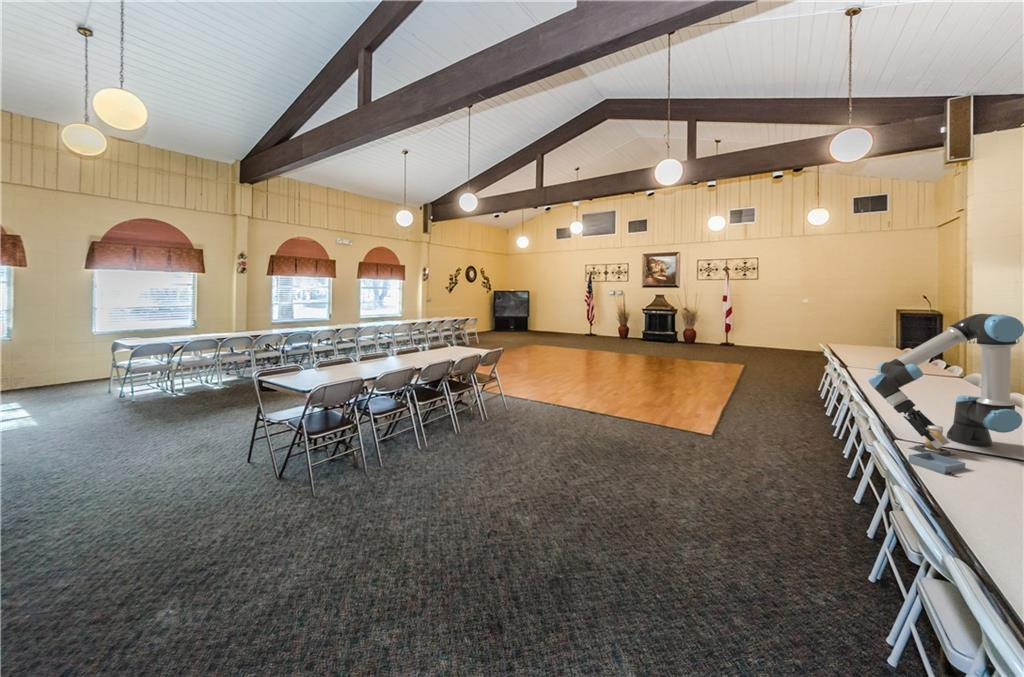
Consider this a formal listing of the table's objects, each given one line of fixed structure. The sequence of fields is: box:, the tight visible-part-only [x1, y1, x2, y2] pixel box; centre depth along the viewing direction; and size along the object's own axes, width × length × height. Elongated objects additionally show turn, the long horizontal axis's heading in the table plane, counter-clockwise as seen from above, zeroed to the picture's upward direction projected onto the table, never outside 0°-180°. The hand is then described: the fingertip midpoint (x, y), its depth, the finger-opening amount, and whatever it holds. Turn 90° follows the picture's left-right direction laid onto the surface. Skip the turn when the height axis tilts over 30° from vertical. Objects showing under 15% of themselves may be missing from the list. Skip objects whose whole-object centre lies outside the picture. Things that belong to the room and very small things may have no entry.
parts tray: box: [907, 452, 967, 476], centre depth 173 cm, size 12×12×4 cm
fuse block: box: [907, 444, 957, 458], centre depth 187 cm, size 12×12×2 cm
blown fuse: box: [924, 424, 944, 452], centre depth 186 cm, size 5×5×12 cm
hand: (943, 445), depth 183 cm, fingers open, 8 cm apart
